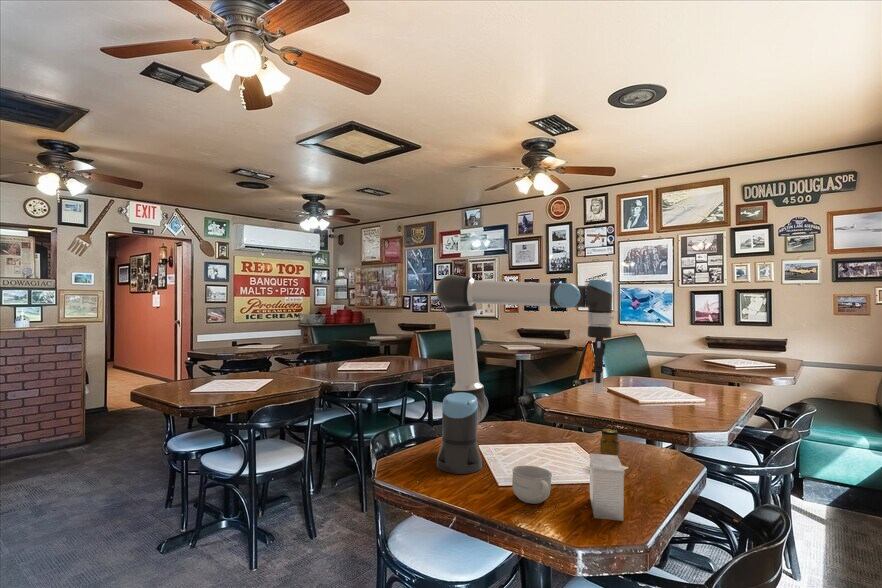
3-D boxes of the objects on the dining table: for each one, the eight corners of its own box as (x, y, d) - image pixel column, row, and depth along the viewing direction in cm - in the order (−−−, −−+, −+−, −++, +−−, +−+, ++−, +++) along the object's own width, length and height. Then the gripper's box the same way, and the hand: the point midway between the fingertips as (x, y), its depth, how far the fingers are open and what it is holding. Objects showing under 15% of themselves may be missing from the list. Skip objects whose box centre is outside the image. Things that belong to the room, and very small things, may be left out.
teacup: (508, 491, 134) (508, 464, 134) (544, 491, 135) (544, 463, 135) (520, 513, 120) (520, 482, 120) (561, 512, 121) (561, 481, 121)
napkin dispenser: (593, 518, 118) (593, 468, 118) (589, 498, 130) (589, 453, 130) (624, 521, 116) (624, 471, 117) (617, 501, 128) (617, 455, 129)
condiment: (606, 461, 162) (606, 426, 162) (629, 468, 155) (629, 432, 155) (594, 465, 157) (594, 430, 157) (617, 473, 150) (617, 436, 151)
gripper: (611, 327, 142) (610, 397, 141) (611, 324, 165) (610, 384, 165) (586, 326, 144) (584, 394, 144) (589, 323, 168) (588, 382, 167)
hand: (598, 389), depth 154 cm, fingers open, 13 cm apart
